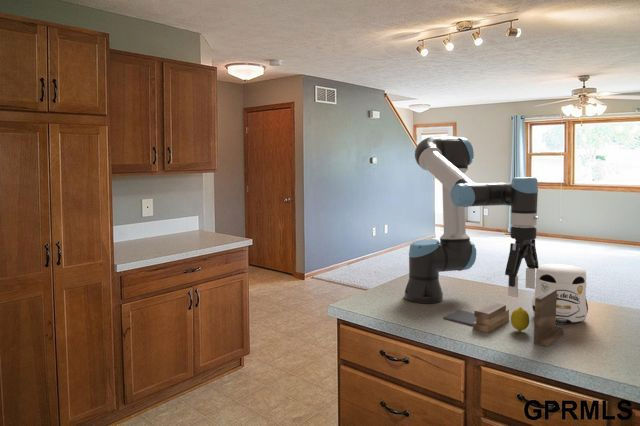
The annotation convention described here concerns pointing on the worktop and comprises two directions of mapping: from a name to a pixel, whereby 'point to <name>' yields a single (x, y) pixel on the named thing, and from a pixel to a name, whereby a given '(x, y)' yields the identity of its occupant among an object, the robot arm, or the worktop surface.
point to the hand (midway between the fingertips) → (521, 292)
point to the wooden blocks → (543, 320)
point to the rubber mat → (461, 317)
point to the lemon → (520, 319)
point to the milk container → (564, 291)
